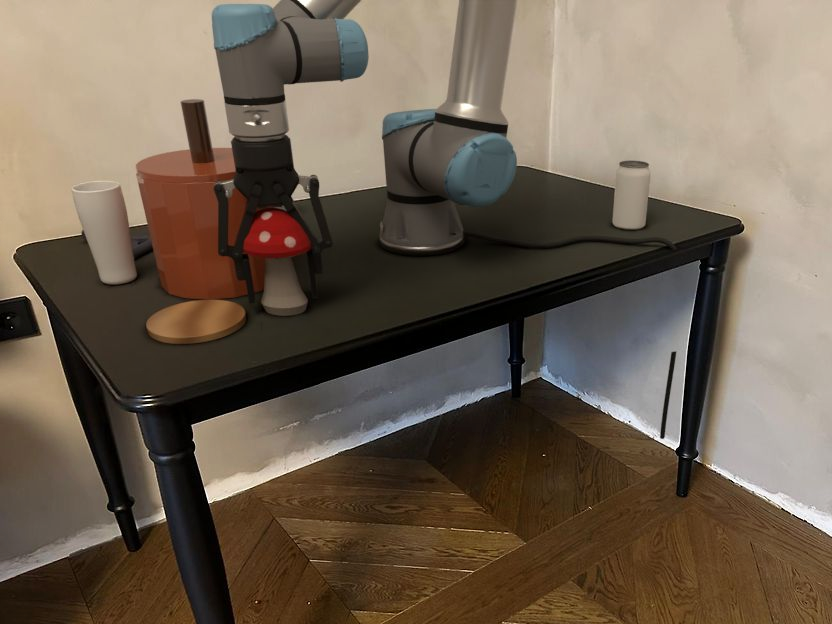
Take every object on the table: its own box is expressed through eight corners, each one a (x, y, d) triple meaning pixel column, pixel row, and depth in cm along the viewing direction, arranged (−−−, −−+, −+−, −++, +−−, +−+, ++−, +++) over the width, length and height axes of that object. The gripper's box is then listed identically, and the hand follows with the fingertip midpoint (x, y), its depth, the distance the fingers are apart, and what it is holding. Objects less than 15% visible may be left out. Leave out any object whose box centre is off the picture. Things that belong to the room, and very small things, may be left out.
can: (630, 232, 145) (636, 169, 139) (605, 224, 149) (609, 163, 143) (652, 226, 148) (658, 164, 143) (627, 218, 153) (632, 158, 147)
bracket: (111, 229, 143) (107, 214, 142) (183, 234, 141) (180, 219, 140) (58, 254, 131) (53, 239, 130) (136, 260, 129) (132, 245, 127)
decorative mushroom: (239, 317, 109) (220, 214, 101) (269, 295, 116) (254, 197, 109) (303, 324, 107) (289, 220, 99) (329, 301, 114) (318, 202, 107)
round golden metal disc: (246, 301, 114) (245, 295, 113) (245, 338, 103) (244, 331, 102) (153, 310, 110) (151, 304, 110) (142, 349, 99) (140, 342, 99)
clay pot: (282, 253, 132) (259, 89, 119) (286, 292, 117) (259, 109, 104) (168, 263, 128) (131, 93, 115) (156, 305, 112) (111, 114, 99)
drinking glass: (96, 290, 117) (70, 193, 109) (95, 276, 122) (70, 183, 115) (144, 283, 119) (122, 188, 112) (141, 269, 125) (119, 178, 117)
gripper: (172, 145, 93) (206, 314, 104) (343, 137, 99) (359, 299, 110) (177, 133, 100) (209, 294, 111) (338, 127, 105) (353, 281, 116)
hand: (283, 296), depth 110 cm, fingers closed on decorative mushroom, 8 cm apart
